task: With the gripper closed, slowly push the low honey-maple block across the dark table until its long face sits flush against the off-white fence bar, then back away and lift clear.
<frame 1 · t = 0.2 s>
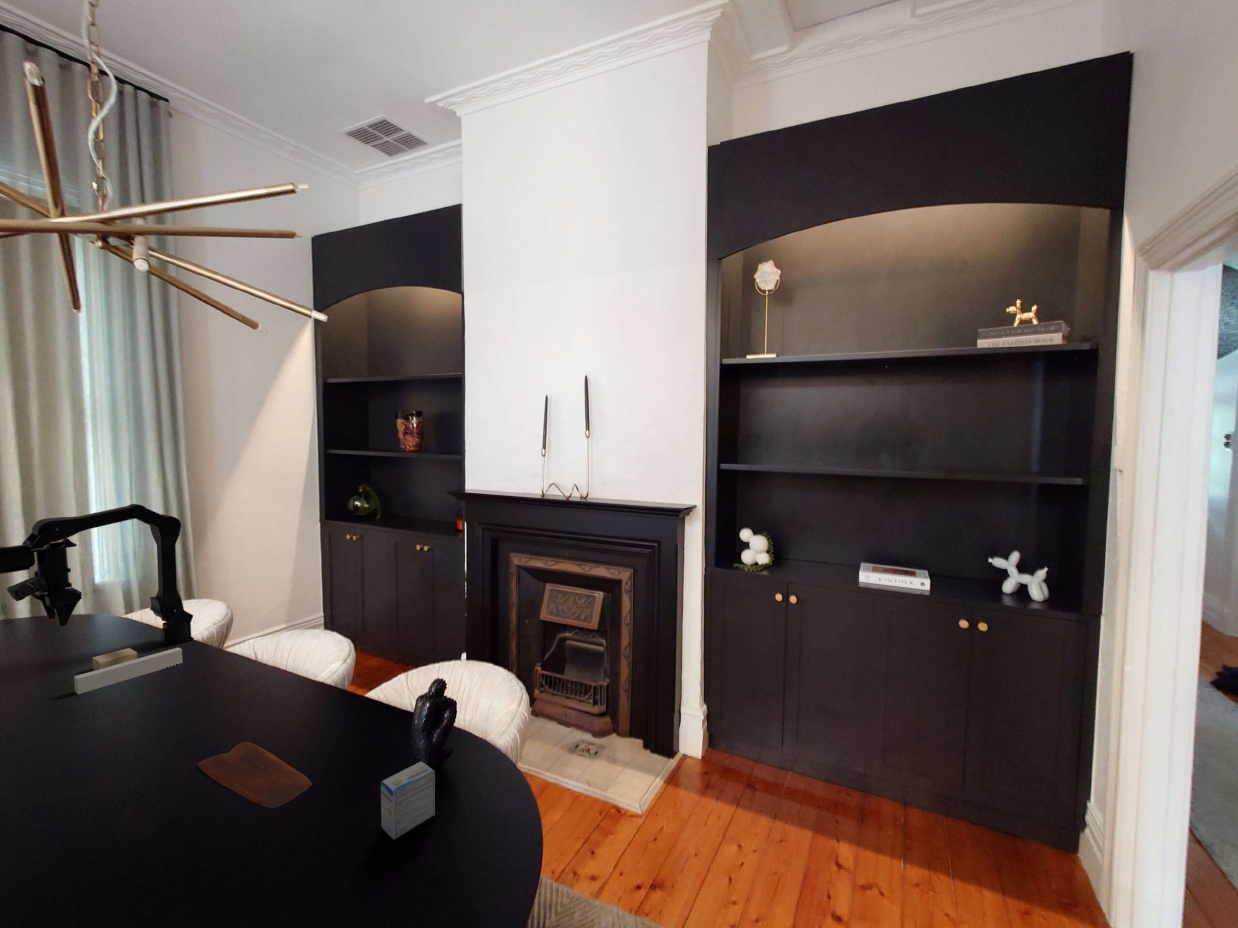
hand: (57, 622, 151), 14 cm above the table, tool pointing down, fingers open, 9 cm apart
fence bar: (131, 676, 150), on the table
wooden tablet: (255, 778, 110), on the table
maple block: (115, 667, 156), on the table
medicine box: (408, 823, 98), on the table
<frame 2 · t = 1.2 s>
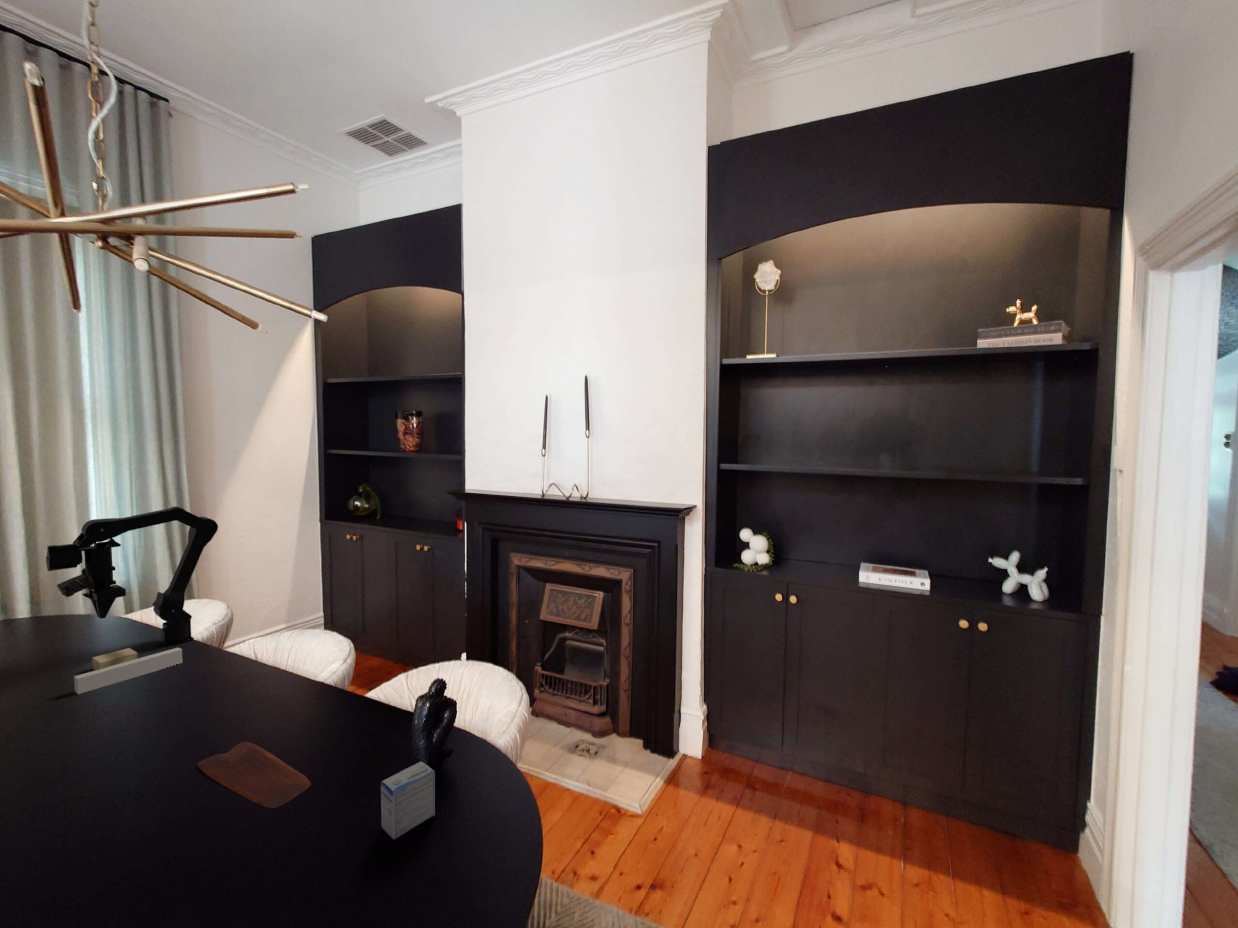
hand: (101, 617, 160), 12 cm above the table, tool pointing down, fingers closed
nothing on the table moved.
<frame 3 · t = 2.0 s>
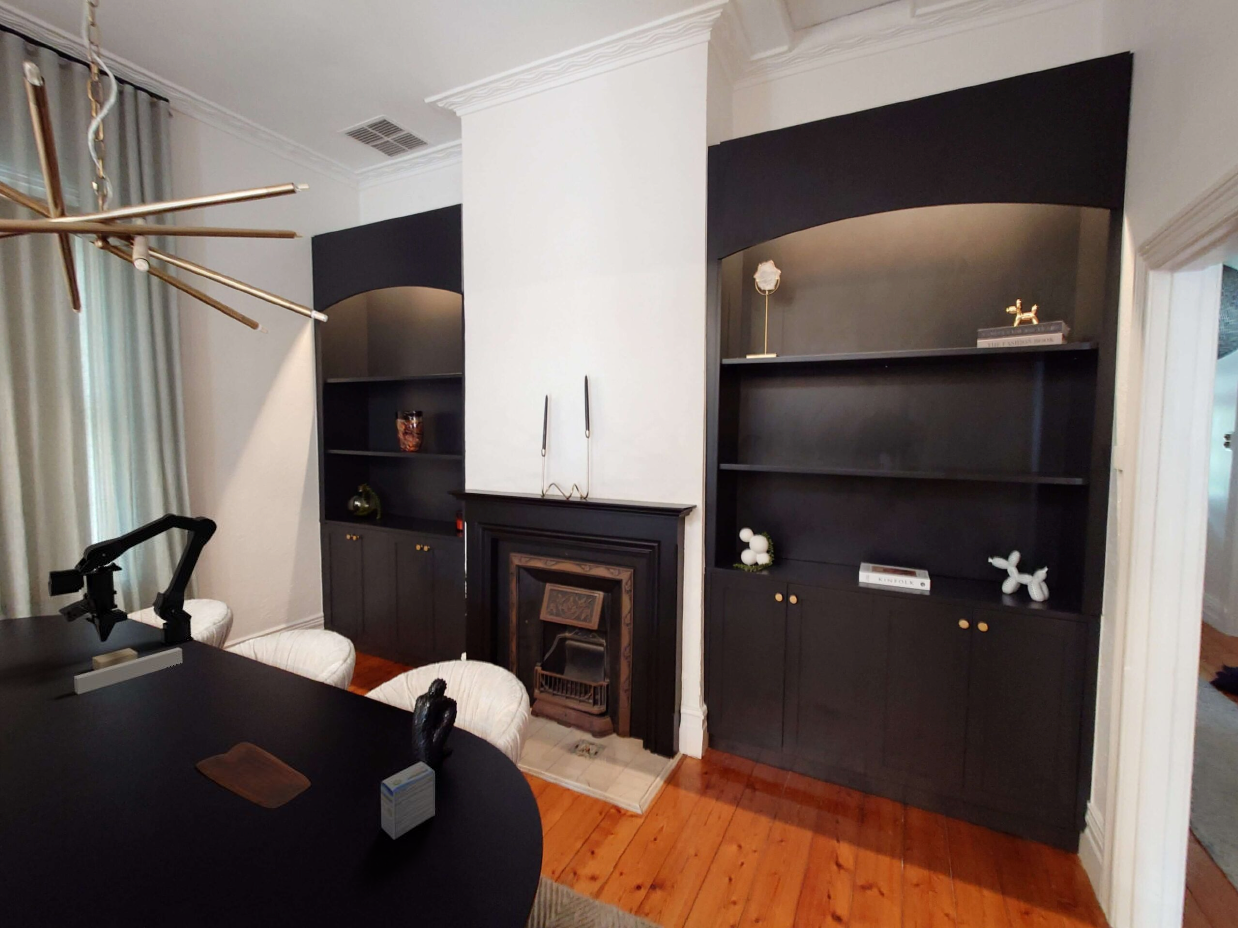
hand: (103, 641, 161), 5 cm above the table, tool pointing down, fingers closed
nothing on the table moved.
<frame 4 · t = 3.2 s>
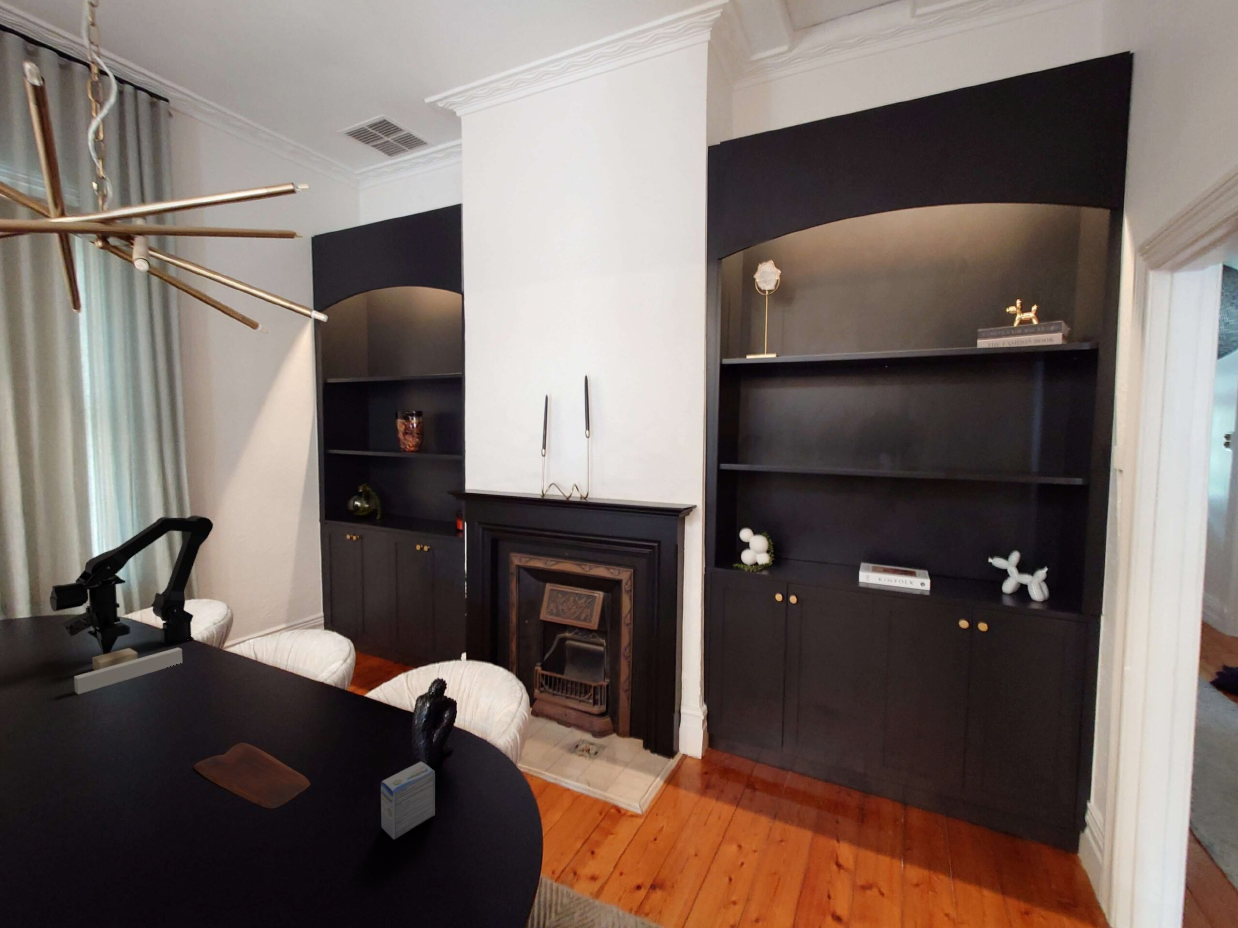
hand: (105, 654, 160), 2 cm above the table, tool pointing down, fingers closed
nothing on the table moved.
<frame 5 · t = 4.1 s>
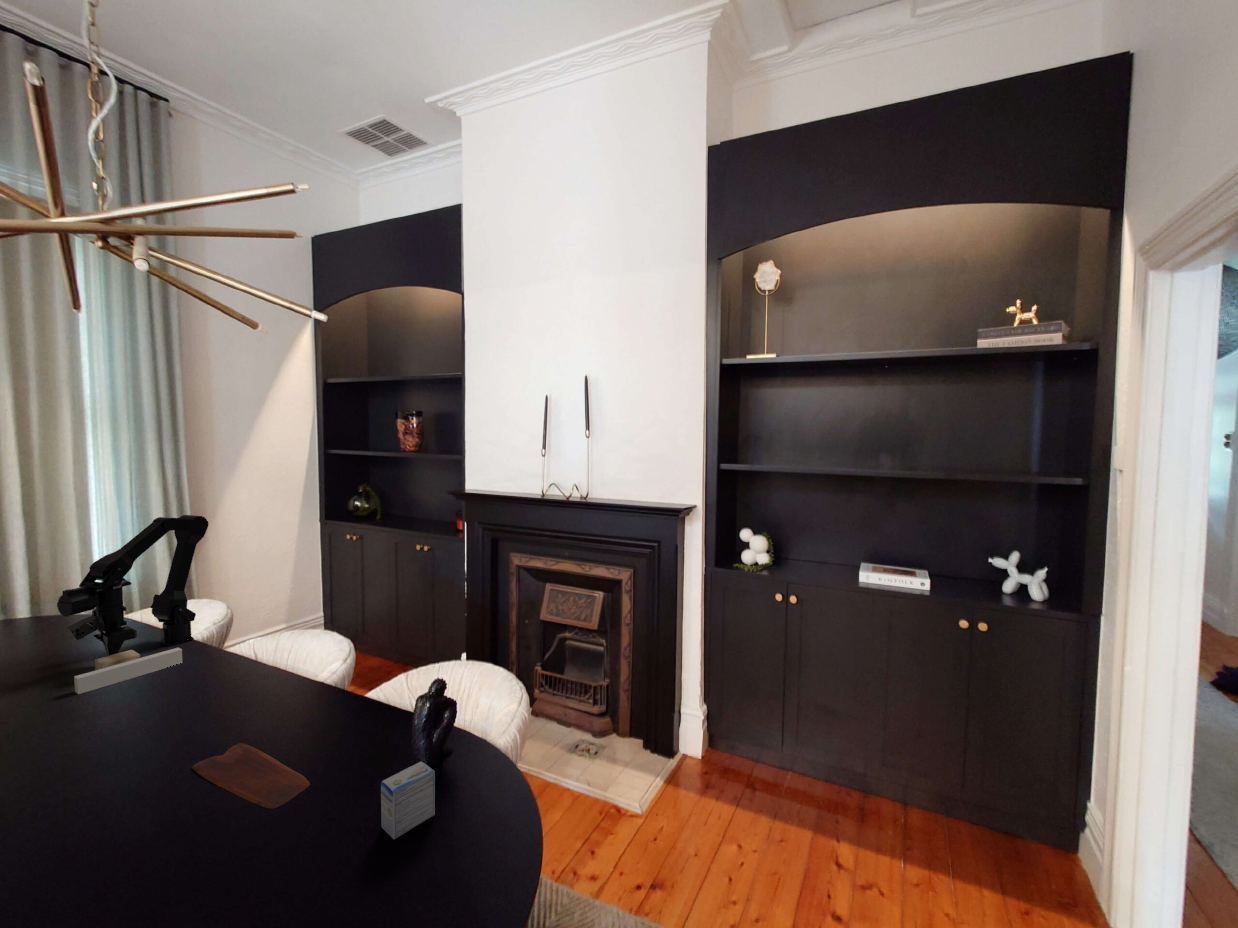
hand: (112, 658, 157), 2 cm above the table, tool pointing down, fingers closed
maple block: (118, 668, 155), on the table, touching gripper
everything else where it was.
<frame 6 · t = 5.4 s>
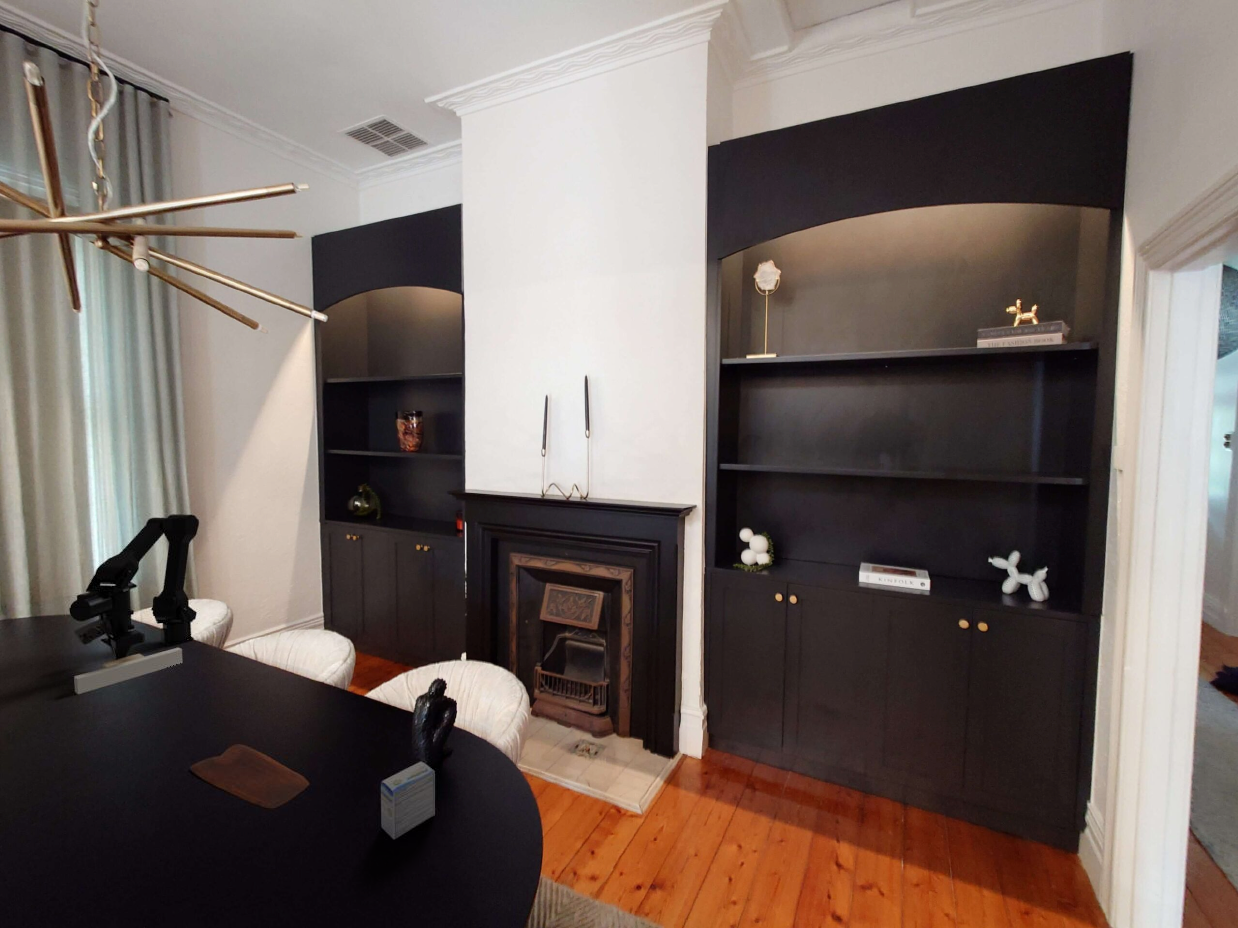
hand: (119, 663, 155), 2 cm above the table, tool pointing down, fingers closed
maple block: (125, 673, 153), on the table, touching gripper
everything else where it was.
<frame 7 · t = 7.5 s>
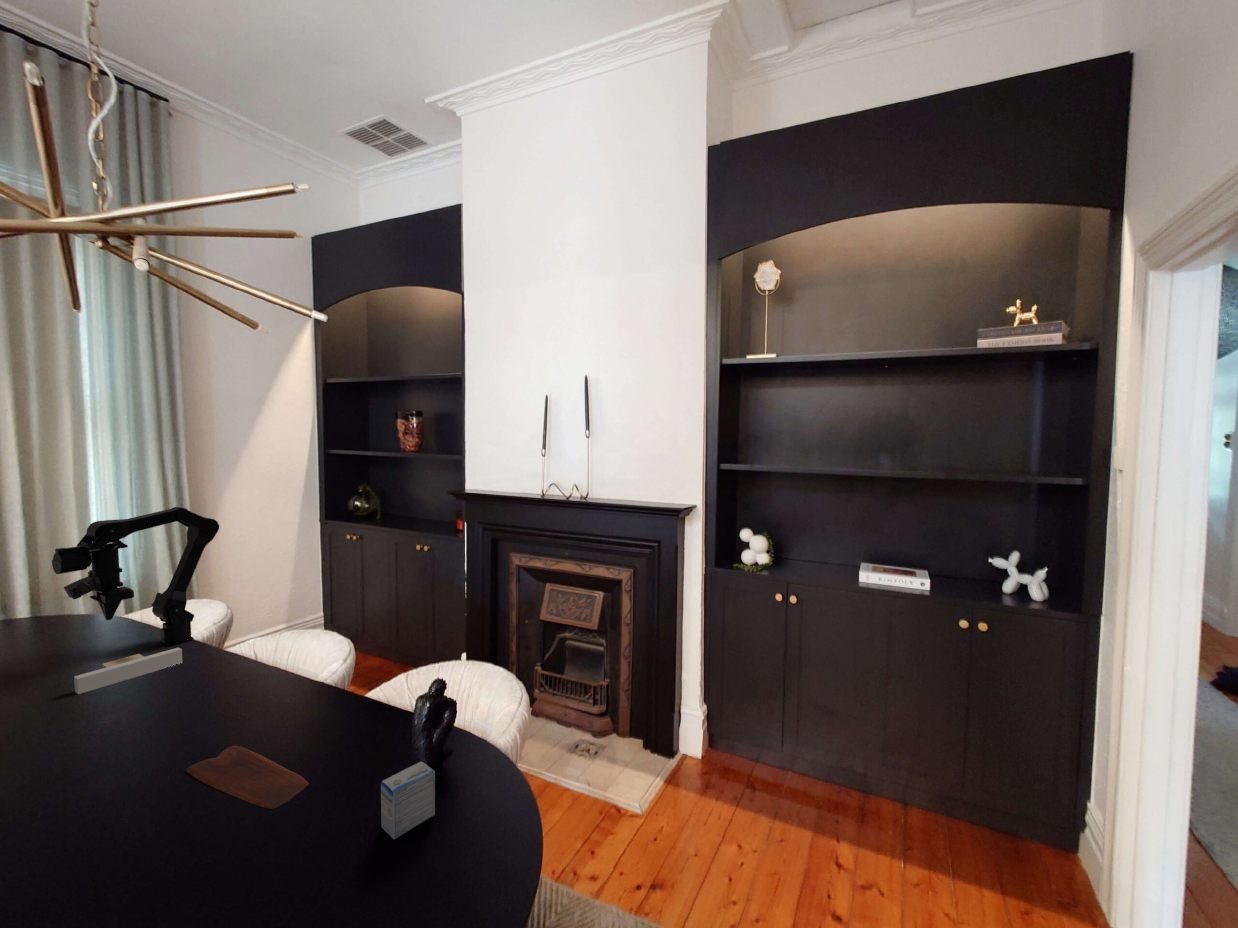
hand: (108, 619, 159), 12 cm above the table, tool pointing down, fingers closed
maple block: (125, 673, 153), on the table
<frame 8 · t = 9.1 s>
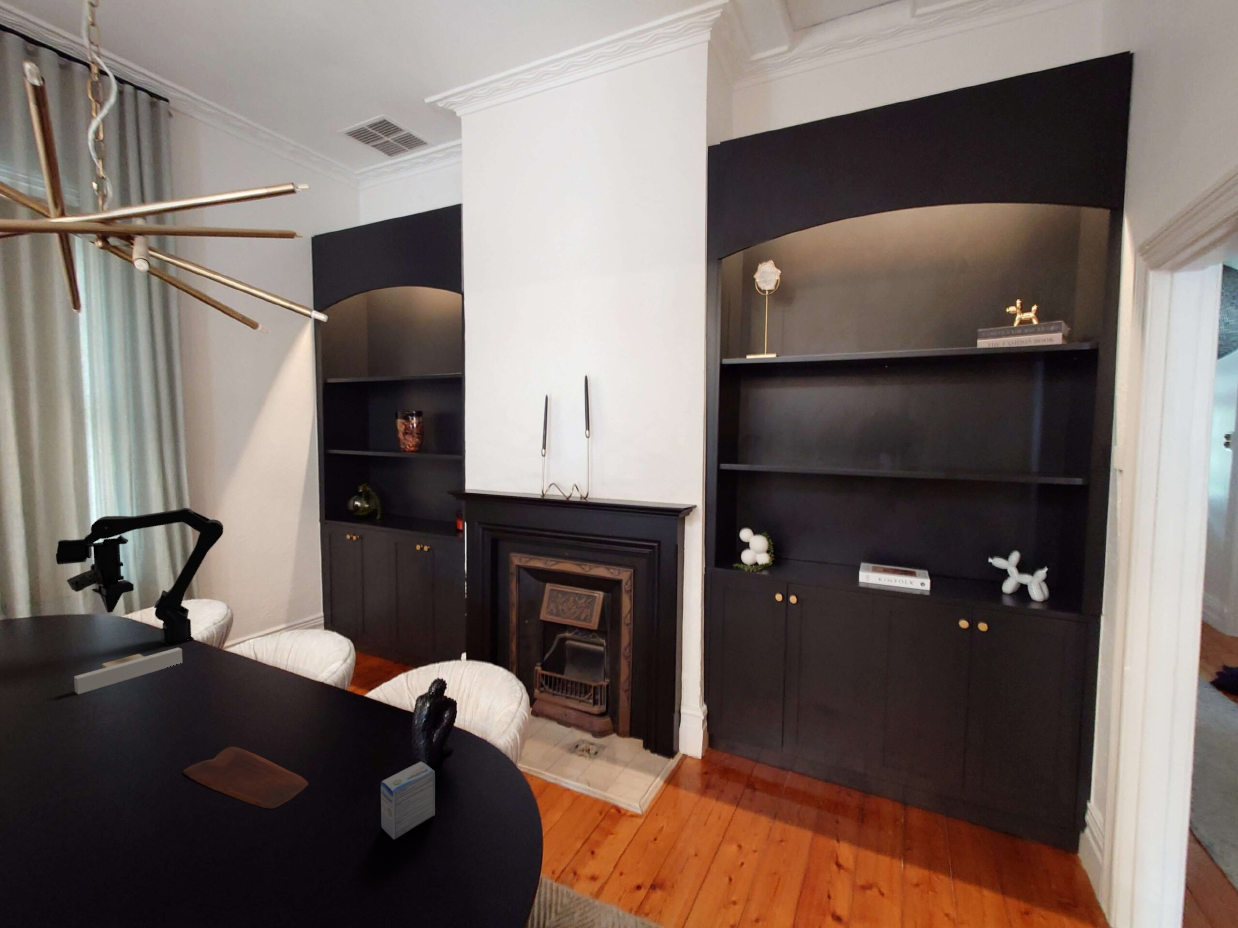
hand: (109, 612, 165), 12 cm above the table, tool pointing down, fingers closed
at the end: maple block inside the target area on the table beside the fence bar (0.2 cm from its centre), on the table; maple block tilted 0° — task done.
